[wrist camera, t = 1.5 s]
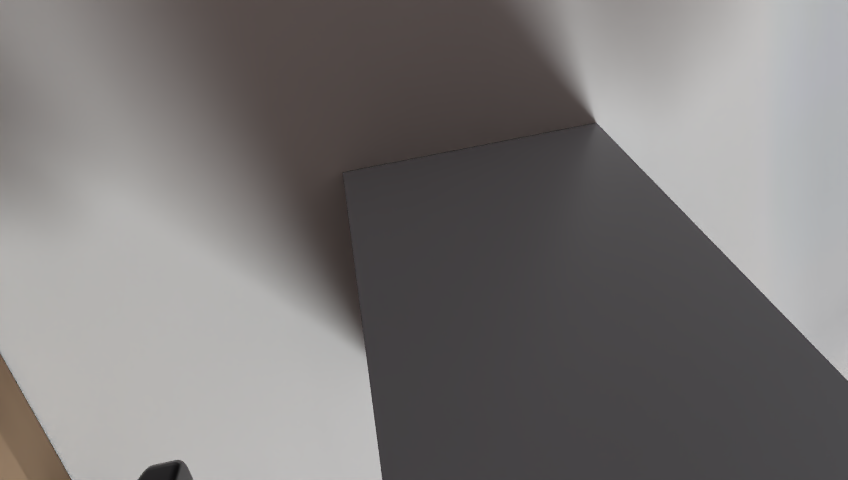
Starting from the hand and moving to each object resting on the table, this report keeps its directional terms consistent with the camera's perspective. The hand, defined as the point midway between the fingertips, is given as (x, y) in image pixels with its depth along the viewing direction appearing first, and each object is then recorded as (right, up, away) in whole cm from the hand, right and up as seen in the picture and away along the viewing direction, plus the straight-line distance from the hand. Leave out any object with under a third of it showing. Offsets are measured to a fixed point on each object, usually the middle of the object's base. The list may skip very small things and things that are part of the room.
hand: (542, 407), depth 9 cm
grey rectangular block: (-1, +2, +3) cm, 4 cm away
